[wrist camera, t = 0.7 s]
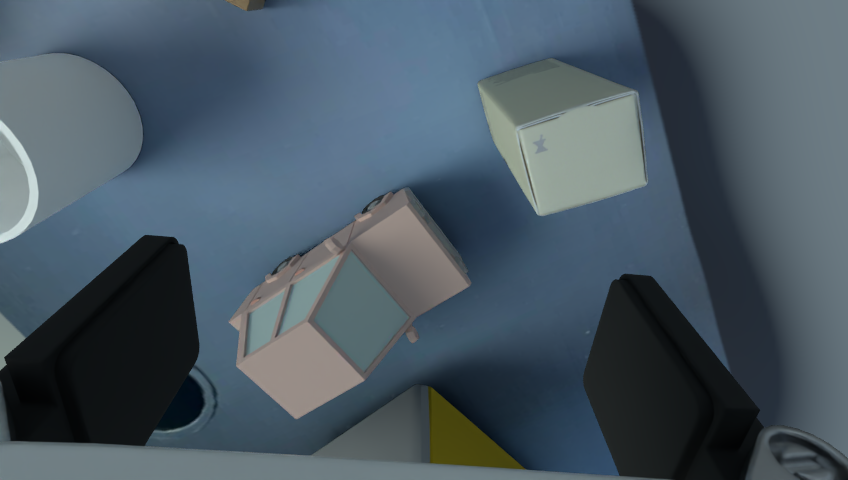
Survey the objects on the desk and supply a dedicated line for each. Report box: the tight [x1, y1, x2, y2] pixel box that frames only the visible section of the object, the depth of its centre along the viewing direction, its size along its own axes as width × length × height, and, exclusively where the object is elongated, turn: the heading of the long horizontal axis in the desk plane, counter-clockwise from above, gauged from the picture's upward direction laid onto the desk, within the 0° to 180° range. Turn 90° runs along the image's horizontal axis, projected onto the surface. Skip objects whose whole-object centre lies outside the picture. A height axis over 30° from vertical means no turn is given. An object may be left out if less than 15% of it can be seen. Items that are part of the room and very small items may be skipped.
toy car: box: [229, 187, 471, 419], centre depth 33 cm, size 9×15×10 cm, turn 125°
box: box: [478, 58, 648, 216], centre depth 26 cm, size 5×4×13 cm
